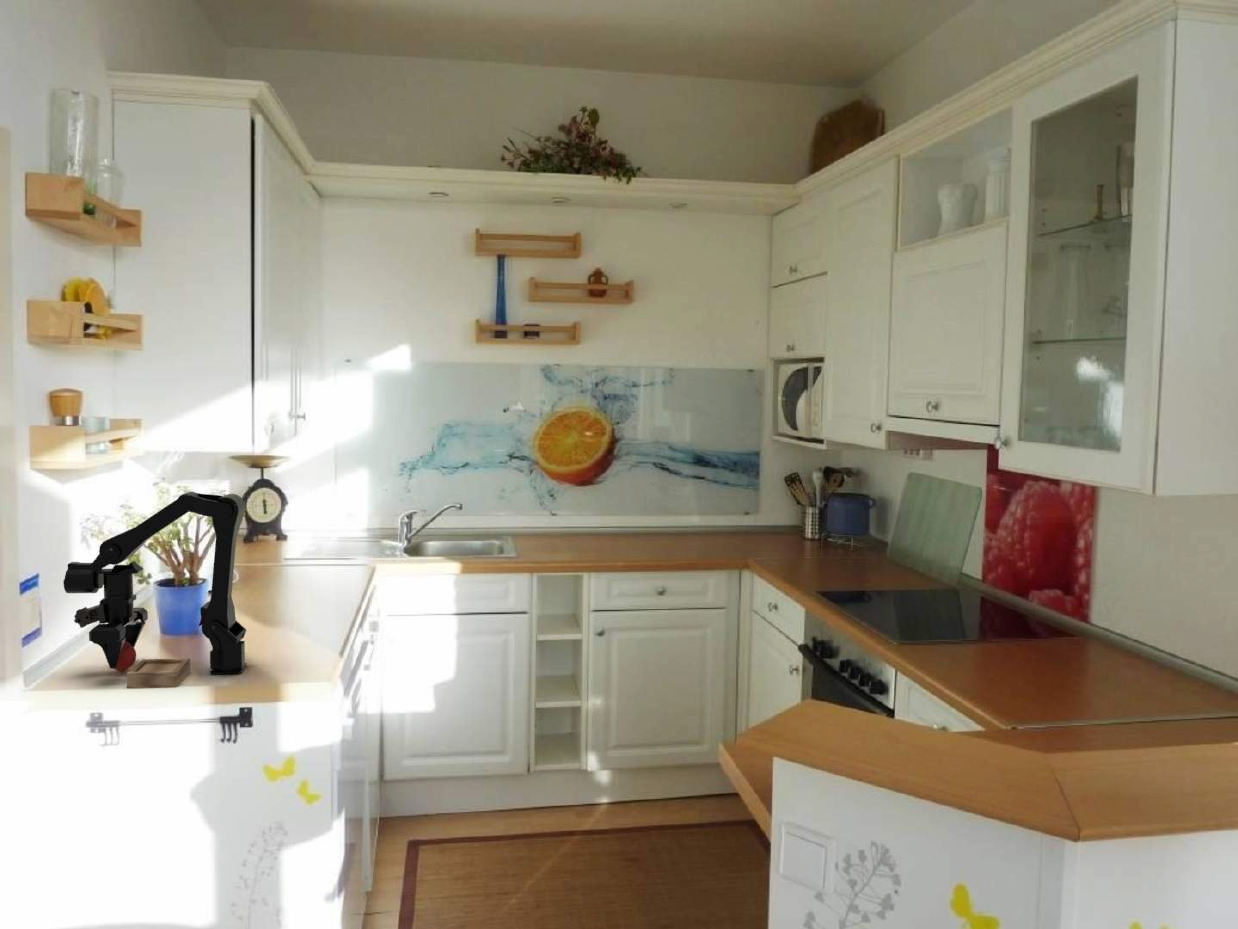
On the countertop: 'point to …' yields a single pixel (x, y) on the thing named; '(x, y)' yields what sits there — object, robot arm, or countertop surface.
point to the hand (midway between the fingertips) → (120, 662)
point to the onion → (126, 658)
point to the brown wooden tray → (158, 673)
